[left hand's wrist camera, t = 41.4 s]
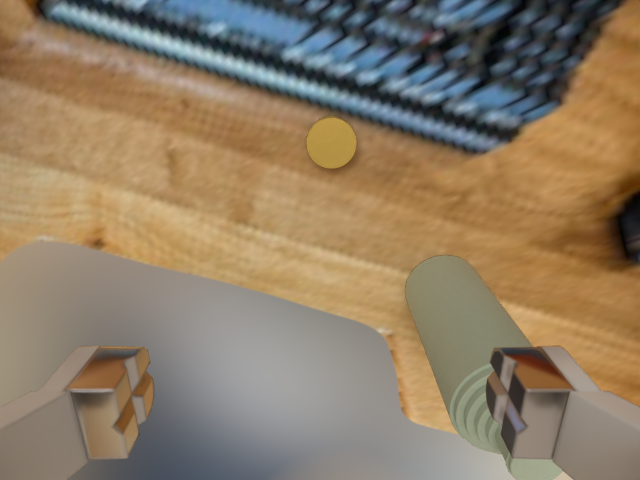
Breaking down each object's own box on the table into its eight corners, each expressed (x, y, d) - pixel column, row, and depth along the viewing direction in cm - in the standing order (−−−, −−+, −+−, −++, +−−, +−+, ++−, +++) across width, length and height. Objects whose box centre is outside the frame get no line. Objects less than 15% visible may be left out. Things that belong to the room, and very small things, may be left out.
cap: (348, 108, 40) (350, 110, 39) (361, 157, 42) (362, 161, 40) (300, 123, 41) (299, 125, 39) (314, 170, 42) (314, 175, 41)
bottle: (494, 281, 47) (634, 453, 26) (445, 332, 49) (537, 528, 28) (438, 240, 45) (539, 391, 24) (389, 296, 47) (444, 476, 27)
